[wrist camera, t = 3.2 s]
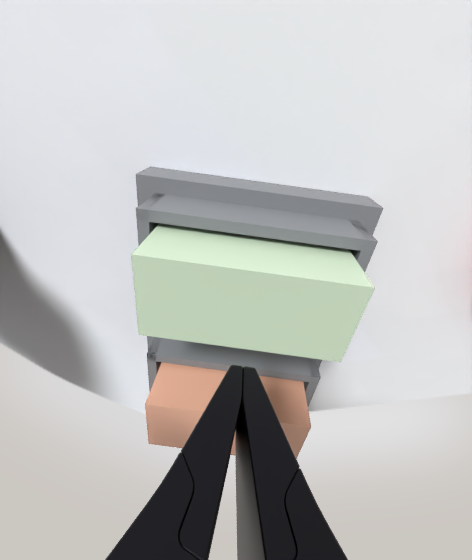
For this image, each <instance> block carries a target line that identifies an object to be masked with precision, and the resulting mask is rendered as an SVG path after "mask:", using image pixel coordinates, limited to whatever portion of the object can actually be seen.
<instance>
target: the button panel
mask: <svg viewBox="0 0 472 560" xmlns="http://www.w3.org/2000/svg"><path fill="white" fill-rule="evenodd" d="M136 185H137V199H138V207H137V208H136V216H137V229H138V242H139V245H140V244H141V243H142V242H143V241H144V240H145V239H146V238H147V237H148V236H149V234H150V233H151V232H152V231H153V230H154V229H155V228H156V227H157V226H158V225H159V223H162V224H169V225H177V226H184V227H191V228H198V229H206V230H213V231H220V232H228V233H235V234H242V235H249V236H257V237H264V238H271V239H279V240H286V241H293V242H300V243H308V244H315V245H322V246H330V247H337V248H344V249H349V250H350V252H351V253H352V255H353V256H354V258H355V259H356V261H357V262H358V264H359V265H360V266H361V268H362V269H363V271H364V272H365V270H366V268H367V266H368V263H369V261H370V259H371V256H372V254H373V251H374V249H375V247H376V244H377V242H378V241H377V240H376V239H375V238H374V237H373V236H372V235H373V232H374V230H375V227H376V225H377V222H378V220H379V218H380V215H381V213H382V210H383V208H382V207H381V206H380V205H378V204H377V203H376V202H374V201H373V200H372V199H370V198H369V197H366V196H359V195H352V194H344V193H337V192H330V191H323V190H315V189H308V188H301V187H294V186H286V185H279V184H272V183H265V182H257V181H250V180H243V179H236V178H228V177H221V176H214V175H207V174H199V173H192V172H185V171H177V170H170V169H163V168H156V167H149V168H147V169H145V170H143V171H141V172H139V173H137V174H136ZM147 341H148V353H147V362H148V376H149V389H150V391H151V388H152V385H153V383H154V380H155V378H156V375H157V373H158V370H159V368H160V365H161V362H164V363H171V364H179V365H186V366H193V367H201V368H208V369H215V370H223V371H228V369H229V367H230V366H231V365H232V364H234V365H241V366H243V367H244V366H248V367H254V368H255V369H256V370H257V372H258V375H259V376H267V377H274V378H281V379H289V380H296V381H303V383H304V388H305V394H306V400H307V406H309V403H310V401H311V399H312V396H313V394H314V392H315V389H316V387H317V384H318V382H319V380H320V374H319V370H318V368H319V366H320V363H321V361H322V360H321V359H313V358H306V357H299V356H291V355H284V354H277V353H269V352H262V351H255V350H247V349H240V348H233V347H225V346H218V345H211V344H203V343H196V342H189V341H181V340H174V339H167V338H159V337H152V336H147Z"/></svg>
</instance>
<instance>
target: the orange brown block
mask: <svg viewBox="0 0 472 560" xmlns="http://www.w3.org/2000/svg"><path fill="white" fill-rule="evenodd" d="M226 373H227V371H223V370H215V369H208V368H201V367H193V366H186V365H179V364H171V363H164V362H161V365H160V368H159V370H158V373H157V375H156V378H155V380H154V383H153V385H152V388H151V391H150V393H149V396H148V398H147V401H146V403H145V408H146V419H147V430H148V441H149V444H155V445H162V446H170V447H177V448H183V447H184V445H185V443H186V441H187V440H188V438H189V436H190V434H191V433H192V431H193V429H194V428H195V426H196V424H197V422H198V421H199V419H200V417H201V416H202V414H203V412H204V410H205V409H206V407H207V405H208V404H209V402H210V400H211V398H212V397H213V395H214V393H215V391H216V390H217V388H218V386H219V385H220V383H221V381H222V379H223V378H224V376H225V374H226ZM259 377H260V379H261V381H262V384H263V386H264V388H265V390H266V393H267V395H268V397H269V399H270V402H271V404H272V406H273V408H274V410H275V413H276V415H277V417H278V419H279V422H280V424H281V426H282V428H283V431H284V433H285V435H286V437H287V440H288V442H289V444H290V446H291V449H292V451H293V453H294V455H295V457H296V458H297V456H298V454H299V452H300V450H301V448H302V445H303V443H304V441H305V439H306V437H307V434H308V432H309V430H310V428H311V424H310V418H309V412H308V406H307V400H306V394H305V388H304V383H303V381H296V380H289V379H281V378H274V377H267V376H259ZM235 431H236V430H235ZM230 455H236V449H235V435H234V440H233V445H232V449H231V454H230Z"/></svg>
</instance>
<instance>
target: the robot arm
mask: <svg viewBox="0 0 472 560" xmlns="http://www.w3.org/2000/svg"><path fill="white" fill-rule="evenodd" d="M235 430H236V431H235ZM234 435H235V449H236V502H237V552H238V553H237V556H238V560H348V559H347V557H346V556H345V554H344V552H343V550H342V548H341V547H340V545H339V543H338V541H337V540H336V538H335V536H334V534H333V533H332V531H331V529H330V527H329V525H328V523H327V522H326V520H325V518H324V516H323V514H322V512H321V510H320V509H319V507H318V505H317V503H316V501H315V499H314V497H313V494H312V492H311V490H310V488H309V486H308V484H307V482H306V480H305V477H304V475H303V473H302V471H301V469H299V464H298V462H297V460H296V457H295V455H294V453H293V451H292V449H291V446H290V444H289V442H288V440H287V437H286V435H285V433H284V431H283V428H282V426H281V424H280V422H279V419H278V417H277V415H276V413H275V410H274V408H273V406H272V404H271V402H270V399H269V397H268V395H267V393H266V390H265V388H264V386H263V384H262V381H261V379H260V377H259V375H258V372H257V370H256V369H255V368H254V367H248V366H244V367H243V366H241V365H234V364H232V365H231V366H230V367H229V369H228V371H227V373H226V374H225V376H224V378H223V379H222V381H221V383H220V385H219V386H218V388H217V390H216V391H215V393H214V395H213V397H212V398H211V400H210V402H209V404H208V405H207V407H206V409H205V410H204V412H203V414H202V416H201V417H200V419H199V421H198V422H197V424H196V426H195V428H194V429H193V431H192V433H191V434H190V436H189V438H188V440H187V441H186V443H185V445H184V447H183V448H182V450H181V453H179V455H178V457H177V458H176V460H175V462H174V464H173V465H172V467H171V468H170V470H169V472H168V473H167V475H166V476H165V478H164V480H163V481H162V483H161V484H160V486H159V487H158V489H157V490H156V491H155V493H154V494H153V496H152V497H151V499H150V500H149V502H148V503H147V504H146V506H145V507H144V508H143V510H142V511H141V512H140V514H139V515H138V516H137V518H136V519H135V521H134V522H133V523H132V525H131V526H130V527H129V529H128V530H127V531H126V533H125V534H124V535H123V537H122V538H121V539H120V541H119V542H118V544H117V545H116V546H115V548H114V549H113V550H112V552H111V553H110V554H109V556H108V557H107V558H106V560H208V558H209V553H210V548H211V544H212V539H213V534H214V529H215V525H216V520H217V515H218V511H219V506H220V501H221V497H222V491H223V487H224V482H225V478H226V473H227V468H228V464H229V459H230V454H231V449H232V445H233V440H234Z"/></svg>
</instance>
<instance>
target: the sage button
mask: <svg viewBox="0 0 472 560" xmlns="http://www.w3.org/2000/svg"><path fill="white" fill-rule="evenodd" d="M131 256H132V267H133V278H134V289H135V299H136V310H137V321H138V332H139V335H145V336H152V337H159V338H167V339H174V340H181V341H189V342H196V343H203V344H211V345H218V346H225V347H233V348H240V349H247V350H255V351H262V352H269V353H277V354H284V355H291V356H299V357H306V358H313V359H321V360H328V361H335V362H341V361H342V358H343V356H344V354H345V352H346V350H347V347H348V345H349V343H350V341H351V339H352V337H353V334H354V332H355V330H356V328H357V326H358V324H359V321H360V319H361V317H362V315H363V313H364V310H365V308H366V306H367V304H368V302H369V300H370V297H371V295H372V293H373V291H374V289H375V287H374V286H373V284H372V283H371V281H370V280H369V278H368V277H367V275H366V274H365V272H364V271H363V269H362V268H361V266H360V265H359V264H358V262H357V261H356V259H355V258H354V256H353V255H352V253H351V252H350V250H349V249H344V248H337V247H330V246H322V245H315V244H308V243H300V242H293V241H286V240H279V239H271V238H264V237H257V236H249V235H242V234H235V233H228V232H220V231H213V230H206V229H198V228H191V227H184V226H177V225H169V224H162V223H159V225H158V226H157V227H156V228H155V229H154V230H153V231H152V232H151V233H150V234H149V236H148V237H147V238H146V239H145V240H144V241H143V242H142V243H141V244H140V245H139V246H138V248H137V249H136V250H135V251H134V252H133V253H132V254H131Z"/></svg>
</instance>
